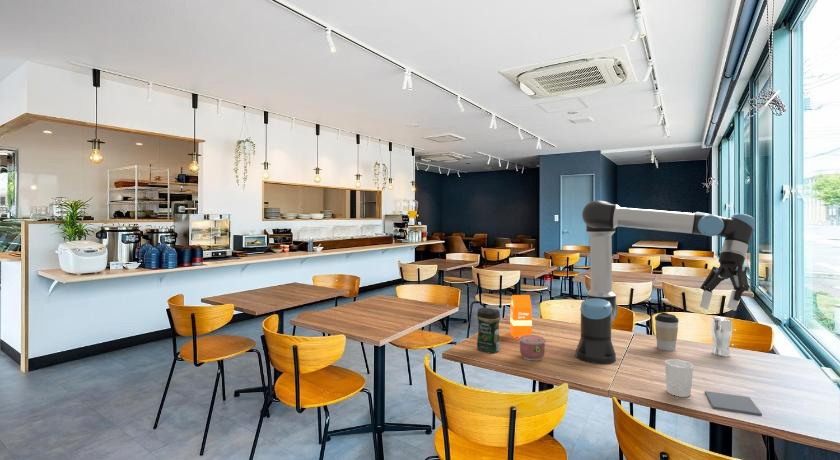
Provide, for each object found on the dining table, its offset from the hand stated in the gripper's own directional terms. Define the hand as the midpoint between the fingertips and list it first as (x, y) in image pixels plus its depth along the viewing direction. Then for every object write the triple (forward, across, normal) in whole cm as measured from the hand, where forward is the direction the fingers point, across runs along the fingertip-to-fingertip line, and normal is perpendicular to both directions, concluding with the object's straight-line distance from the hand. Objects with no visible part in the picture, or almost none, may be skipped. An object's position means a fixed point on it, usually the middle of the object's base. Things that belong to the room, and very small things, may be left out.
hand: (717, 308), depth 153 cm
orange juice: (+36, +58, +46) cm, 82 cm away
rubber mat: (+31, -16, -1) cm, 35 cm away
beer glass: (+11, +26, -26) cm, 38 cm away
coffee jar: (+47, +38, +63) cm, 87 cm away
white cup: (+34, -8, +10) cm, 36 cm away
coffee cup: (+17, +35, -9) cm, 40 cm away
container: (+43, +28, +47) cm, 70 cm away
